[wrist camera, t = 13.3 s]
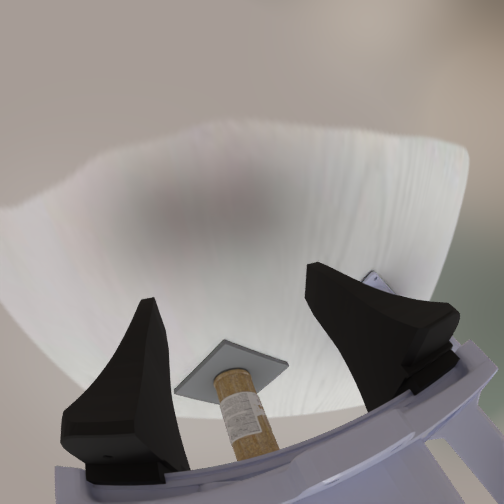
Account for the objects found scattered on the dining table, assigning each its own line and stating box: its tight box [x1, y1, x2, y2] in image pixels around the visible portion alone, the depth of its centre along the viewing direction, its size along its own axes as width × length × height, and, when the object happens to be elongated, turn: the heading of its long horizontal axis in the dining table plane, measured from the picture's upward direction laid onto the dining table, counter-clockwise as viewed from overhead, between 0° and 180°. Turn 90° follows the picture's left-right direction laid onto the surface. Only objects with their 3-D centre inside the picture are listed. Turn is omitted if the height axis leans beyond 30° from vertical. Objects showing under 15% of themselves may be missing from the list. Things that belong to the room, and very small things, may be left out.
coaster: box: [174, 340, 289, 405], centre depth 30 cm, size 10×10×1 cm
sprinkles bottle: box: [213, 369, 280, 461], centre depth 24 cm, size 5×5×13 cm
